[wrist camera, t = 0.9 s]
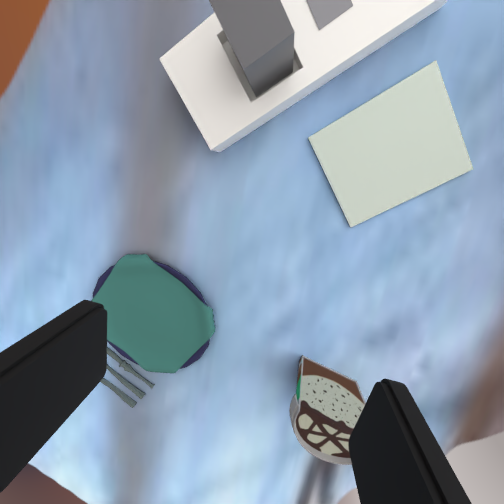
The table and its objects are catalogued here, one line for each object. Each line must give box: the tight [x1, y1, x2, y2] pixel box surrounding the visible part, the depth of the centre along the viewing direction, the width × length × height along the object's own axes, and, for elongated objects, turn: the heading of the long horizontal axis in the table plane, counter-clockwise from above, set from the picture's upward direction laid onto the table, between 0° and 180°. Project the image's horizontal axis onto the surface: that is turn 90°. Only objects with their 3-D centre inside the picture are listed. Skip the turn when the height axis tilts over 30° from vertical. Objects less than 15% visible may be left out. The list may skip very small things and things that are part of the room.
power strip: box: [160, 0, 448, 152], centre depth 25 cm, size 26×10×5 cm, turn 120°
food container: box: [289, 355, 366, 465], centre depth 35 cm, size 12×6×10 cm, turn 66°
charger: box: [209, 0, 295, 97], centre depth 22 cm, size 4×6×8 cm
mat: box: [308, 61, 473, 227], centre depth 29 cm, size 14×12×1 cm
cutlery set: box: [92, 254, 215, 408], centre depth 41 cm, size 20×30×2 cm, turn 140°
